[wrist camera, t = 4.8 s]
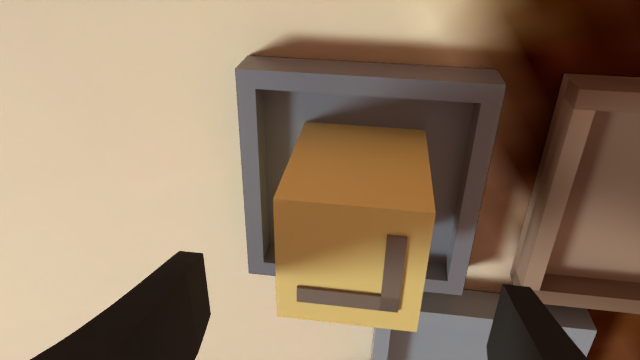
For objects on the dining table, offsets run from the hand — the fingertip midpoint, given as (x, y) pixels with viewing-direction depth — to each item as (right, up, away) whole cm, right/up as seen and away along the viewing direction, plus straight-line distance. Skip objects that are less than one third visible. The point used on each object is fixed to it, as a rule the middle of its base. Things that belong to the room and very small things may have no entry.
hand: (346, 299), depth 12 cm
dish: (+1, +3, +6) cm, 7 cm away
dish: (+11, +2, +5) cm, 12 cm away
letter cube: (+1, +3, +5) cm, 6 cm away
